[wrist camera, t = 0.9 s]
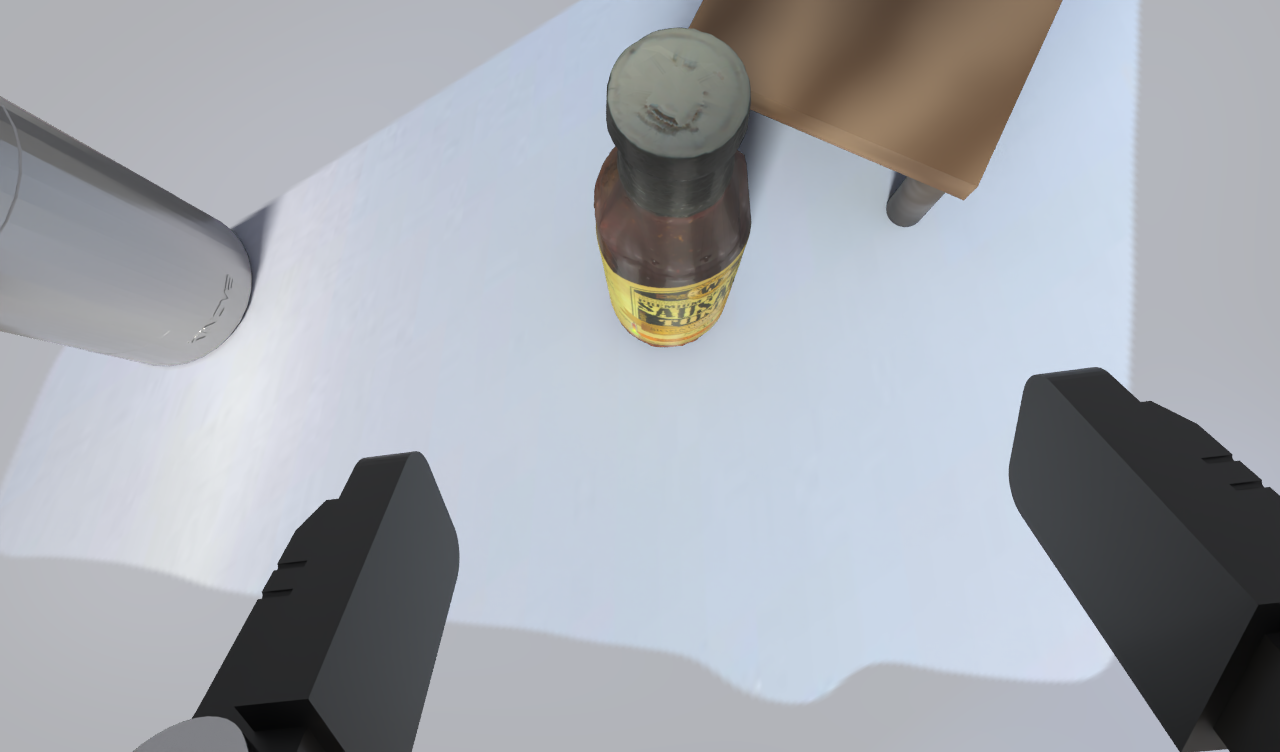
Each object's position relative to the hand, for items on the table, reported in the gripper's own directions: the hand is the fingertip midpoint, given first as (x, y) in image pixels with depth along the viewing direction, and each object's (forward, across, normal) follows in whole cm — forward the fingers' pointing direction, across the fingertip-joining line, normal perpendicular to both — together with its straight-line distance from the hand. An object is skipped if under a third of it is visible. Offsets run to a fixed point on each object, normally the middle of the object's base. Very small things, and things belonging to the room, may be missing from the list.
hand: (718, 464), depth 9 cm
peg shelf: (+35, -11, +3) cm, 36 cm away
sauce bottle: (+27, 0, +11) cm, 30 cm away
